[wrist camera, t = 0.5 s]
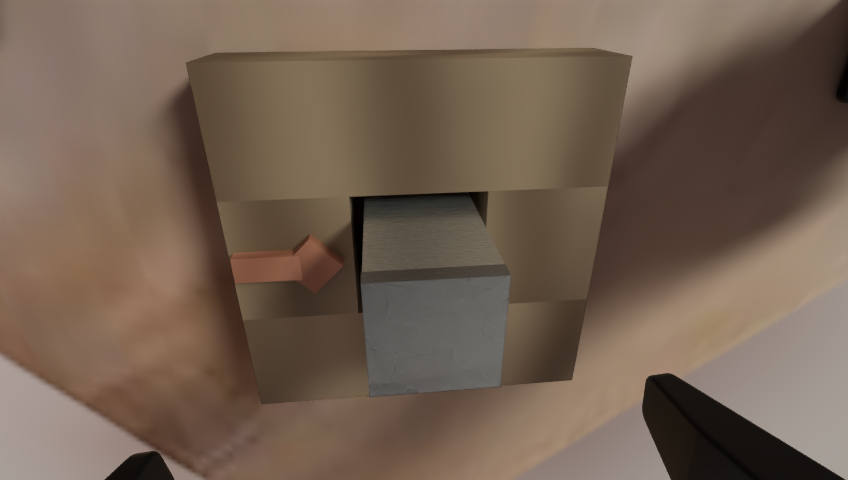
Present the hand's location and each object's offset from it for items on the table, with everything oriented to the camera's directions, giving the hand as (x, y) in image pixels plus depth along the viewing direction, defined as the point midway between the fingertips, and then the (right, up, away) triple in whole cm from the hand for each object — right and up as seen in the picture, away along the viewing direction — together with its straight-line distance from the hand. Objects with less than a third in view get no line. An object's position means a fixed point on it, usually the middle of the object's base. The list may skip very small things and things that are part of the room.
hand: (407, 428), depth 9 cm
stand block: (0, +4, +12) cm, 13 cm away
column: (0, +4, +12) cm, 13 cm away
